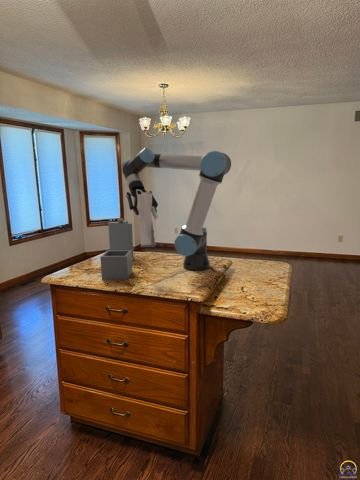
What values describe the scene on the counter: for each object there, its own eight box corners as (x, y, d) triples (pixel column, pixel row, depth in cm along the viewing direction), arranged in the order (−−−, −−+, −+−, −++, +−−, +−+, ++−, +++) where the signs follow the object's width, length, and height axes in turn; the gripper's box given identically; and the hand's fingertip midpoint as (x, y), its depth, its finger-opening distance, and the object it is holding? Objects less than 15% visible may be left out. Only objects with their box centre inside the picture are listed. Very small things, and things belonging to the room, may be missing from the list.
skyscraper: (137, 247, 158) (134, 189, 153) (140, 243, 166) (137, 189, 160) (154, 246, 158) (151, 189, 152) (156, 243, 166) (153, 188, 160)
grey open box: (132, 271, 176) (131, 250, 173) (128, 279, 163) (126, 256, 160) (108, 271, 176) (106, 250, 174) (101, 279, 163) (100, 256, 161)
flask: (135, 257, 208) (133, 218, 203) (131, 258, 204) (129, 219, 199) (113, 254, 215) (111, 217, 211) (109, 256, 211) (106, 218, 207)
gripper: (151, 189, 175) (165, 221, 164) (115, 190, 165) (127, 225, 154) (154, 179, 169) (169, 212, 158) (118, 180, 160) (131, 215, 149)
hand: (148, 218), depth 156 cm, fingers closed on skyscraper, 7 cm apart
